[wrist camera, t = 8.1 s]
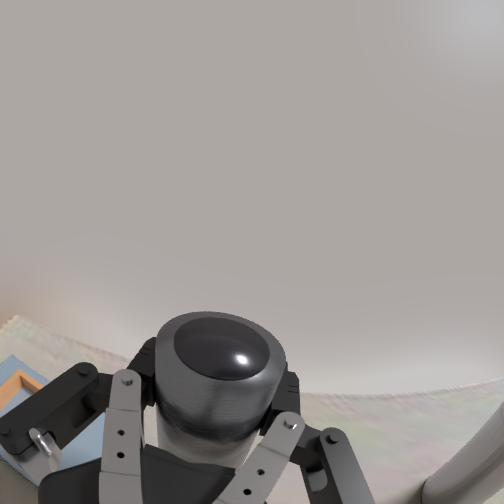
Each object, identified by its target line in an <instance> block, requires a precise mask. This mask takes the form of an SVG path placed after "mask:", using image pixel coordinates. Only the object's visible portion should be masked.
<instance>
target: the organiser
mask: <svg viewBox="0 0 504 504" xmlns="http://www.w3.org/2000/svg"><path fill="white" fill-rule="evenodd" d="M50 382H51V381H49V380H47V379H46V378H44V377H43V376H41V375H40V374H38V373H37V372H36V371H34V370H33V369H31V368H30V367H28V366H27V365H26V364H24V363H23V362H22V361H20V360H19V359H18V358H16V357H15V356H14V355H11V356H10V357H8V358H7V359H6V360H5V361H4V362H3V363H2V364H1V365H0V418H1V417H2V416H3V415H5V414H6V413H8V412H9V411H10V410H12V409H13V408H15V407H16V406H17V405H19V404H20V403H22V402H23V401H24V400H26V399H27V398H29V397H30V396H32V395H33V394H34V393H36V392H37V391H39V390H40V389H41V388H43V387H44V386H46V385H47V384H49V383H50ZM104 420H105V413H104V412H103V413H102V414H101V415H100V416H99V417H98V418H97V419H95V420H94V421H93V422H92V423H91V424H90V425H89V426H88V427H87V428H86V429H84V430H83V431H82V432H81V433H80V434H79V435H78V436H77V437H76V438H74V439H73V440H72V441H71V442H70V443H69V444H68V445H67V446H65V447H64V448H63V449H62V450H61V453H62V460H61V462H60V463H59V465H58V466H57V471H59V470H63V469H66V468H70V467H73V466H76V465H79V464H82V463H85V462H88V461H91V460H94V459H97V458H100V457H102V443H103V431H104ZM0 456H1V457H2V458H3V459H5V460H6V461H7V462H8V463H9V464H10V465H11V466H12V467H13V468H15V469H16V470H17V471H18V472H19V473H21V474H22V475H23V476H24V477H26V478H27V479H28V480H29V481H31V482H32V483H33V484H35V485H36V486H37V487H39V485H38V484H37V483H36V482H35V481H34V480H33V479H32V478H31V477H30V476H29V475H28V474H27V473H26V471H24V470H23V469H22V468H21V467H20V466H19V465H18V464H17V463H16V462H15V461H14V460H13V459H12V458H11V457H10V456H9V455H8V454H7V453H6V451H5V450H4V449H3V448H2V446H1V445H0Z"/></svg>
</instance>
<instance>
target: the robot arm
mask: <svg viewBox="0 0 504 504" xmlns="http://www.w3.org/2000/svg"><path fill="white" fill-rule="evenodd" d="M155 346H156V337H152V338H151V339H149V340H147V341H146V342H145V343H144V345H143V346H142V348H141V349H140V350H139V353H137V354H136V356H135V358H134V359H133V360H132V361H131V363H130V364H129V366H128V367H127V368H126V369H122V370H119V371H117V372H116V373H115V374H114V375H111V374H104V373H98V371H97V368H96V367H95V366H94V365H93V364H91V363H87V362H81V363H78V364H76V365H74V366H73V367H71V368H70V369H69V370H67V371H66V372H64V373H63V374H61V375H60V376H59V377H57V378H56V379H54V380H53V381H51V382H50V383H49V384H47V385H46V386H44V387H43V388H41V389H40V390H39V391H37V392H36V393H34V394H33V395H32V396H30V397H29V398H27V399H26V400H24V401H23V402H22V403H20V404H19V405H17V406H16V407H15V408H13V409H12V410H10V411H9V412H8V413H6V414H5V415H3V416H2V417H1V418H0V445H1V446H2V448H3V449H4V450H5V451H6V453H7V454H8V455H9V456H10V457H11V458H12V459H13V460H14V461H15V462H16V463H17V464H18V465H19V466H20V467H21V468H22V469H23V470H24V471H26V473H27V474H28V475H29V476H30V477H31V478H32V479H33V480H34V481H35V482H36V483H37V484H38V485H39V487H38V500H39V504H267V502H266V501H265V500H266V499H267V497H268V496H269V494H270V492H271V491H272V489H273V487H274V486H275V484H276V482H277V481H278V479H279V477H280V476H281V474H282V472H283V470H284V468H285V467H286V465H287V463H288V461H290V462H292V463H295V464H297V465H300V468H301V472H302V476H303V479H304V483H305V486H306V490H307V493H308V497H309V500H310V504H375V501H374V499H373V497H372V494H371V492H370V490H369V487H368V485H367V482H366V480H365V478H364V475H363V473H362V471H361V468H360V466H359V464H358V461H357V459H356V457H355V454H354V452H353V450H352V447H351V445H350V443H349V441H348V438H347V436H346V434H345V433H344V432H343V431H341V430H340V429H337V428H326V429H324V430H323V431H320V430H317V429H314V428H312V427H310V426H308V425H307V424H305V422H304V420H303V418H302V417H301V414H300V394H299V393H300V392H299V379H298V377H297V375H296V374H295V372H289V371H288V368H287V367H288V365H287V362H286V366H285V369H284V372H283V375H282V377H281V380H280V382H279V385H278V387H277V389H276V392H275V394H274V397H273V399H272V401H271V404H270V406H269V408H268V411H267V413H266V415H265V417H264V420H263V422H262V424H261V426H260V433H259V435H260V436H264V438H263V439H262V441H261V442H260V443H259V444H258V445H257V446H256V448H255V449H254V451H253V452H252V453H251V455H250V456H249V458H248V459H247V460H246V462H245V463H244V465H243V466H242V467H241V469H240V470H239V471H238V473H237V474H235V471H236V469H235V468H230V467H225V466H220V465H216V464H204V463H189V462H186V461H184V460H183V459H181V458H179V457H177V456H175V455H173V454H172V453H170V452H168V451H166V450H163V449H160V448H157V447H154V446H152V445H149V444H146V445H145V440H144V410H145V408H146V406H147V405H149V406H152V407H153V406H154V404H155V402H156V388H155ZM103 412H104V413H105V420H104V431H103V443H102V457H100V458H97V459H94V460H91V461H88V462H85V463H82V464H79V465H76V466H73V467H70V468H66V469H63V470H59V471H57V466H58V465H59V463H60V462H61V460H62V453H61V450H62V449H63V448H64V447H65V446H67V445H68V444H69V443H70V442H71V441H72V440H73V439H74V438H76V437H77V436H78V435H79V434H80V433H81V432H82V431H83V430H84V429H86V428H87V427H88V426H89V425H90V424H91V423H92V422H93V421H94V420H95V419H97V418H98V417H99V416H100V415H101V414H102V413H103ZM503 487H504V401H503V403H502V404H501V405H500V407H499V408H498V409H497V410H496V412H495V413H494V414H493V415H492V416H491V418H490V419H489V420H488V421H487V422H486V423H485V425H484V426H483V427H482V428H481V429H480V430H479V431H478V432H477V433H476V435H475V436H474V437H473V438H472V439H471V440H470V441H469V442H468V443H467V444H466V445H465V446H464V447H463V448H462V449H461V450H460V451H459V452H458V453H457V454H456V455H455V456H453V457H452V458H451V459H450V460H449V461H448V462H447V463H446V464H444V465H443V466H442V467H441V468H440V469H439V470H438V471H436V472H435V473H434V474H433V475H432V476H430V477H429V478H428V480H427V481H426V482H425V484H424V486H423V490H422V504H482V503H483V502H485V501H486V500H488V499H489V498H490V497H492V496H493V495H494V494H496V493H497V492H498V491H499V490H501V489H502V488H503Z"/></svg>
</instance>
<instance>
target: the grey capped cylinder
mask: <svg viewBox="0 0 504 504" xmlns="http://www.w3.org/2000/svg"><path fill="white" fill-rule="evenodd" d="M285 366H286V356H285V352H284V350H283V348H282V346H281V344H280V343H279V341H278V340H277V339H276V338H275V337H274V336H273V335H272V334H271V333H270V332H268V331H267V330H266V329H264V328H263V327H261V326H259V325H258V324H256V323H254V322H252V321H249V320H247V319H244V318H242V317H239V316H235V315H231V314H226V313H220V312H192V313H187V314H183V315H180V316H178V317H175V318H173V319H171V320H170V321H168V322H167V323H166V324H164V325H163V327H162V328H161V329H160V331H159V332H158V335H157V337H156V346H155V388H156V416H157V433H158V446H159V448H160V449H163V450H166V451H168V452H170V453H172V454H173V455H175V456H177V457H179V458H181V459H183V460H184V461H186V462H189V463H204V464H216V465H220V466H225V467H230V468H235V469H236V471H235V474H237V473H238V471H239V470H240V468H241V466H242V464H243V462H244V460H245V458H246V456H247V454H248V452H249V450H250V448H251V446H252V444H253V442H254V439H255V437H256V435H257V433H258V431H259V429H260V426H261V424H262V422H263V420H264V417H265V415H266V413H267V411H268V408H269V406H270V404H271V401H272V399H273V397H274V394H275V392H276V389H277V387H278V385H279V382H280V380H281V377H282V375H283V372H284V369H285Z"/></svg>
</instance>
